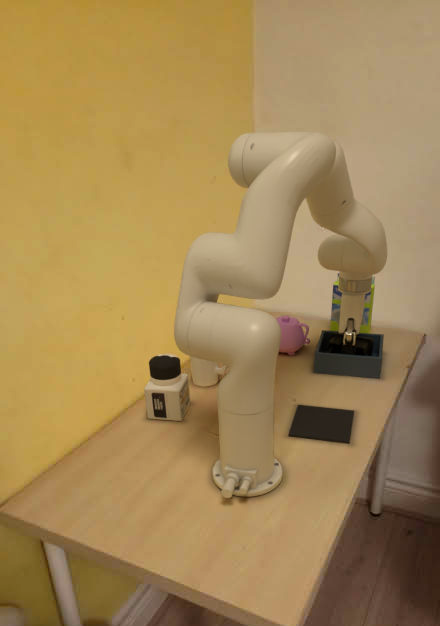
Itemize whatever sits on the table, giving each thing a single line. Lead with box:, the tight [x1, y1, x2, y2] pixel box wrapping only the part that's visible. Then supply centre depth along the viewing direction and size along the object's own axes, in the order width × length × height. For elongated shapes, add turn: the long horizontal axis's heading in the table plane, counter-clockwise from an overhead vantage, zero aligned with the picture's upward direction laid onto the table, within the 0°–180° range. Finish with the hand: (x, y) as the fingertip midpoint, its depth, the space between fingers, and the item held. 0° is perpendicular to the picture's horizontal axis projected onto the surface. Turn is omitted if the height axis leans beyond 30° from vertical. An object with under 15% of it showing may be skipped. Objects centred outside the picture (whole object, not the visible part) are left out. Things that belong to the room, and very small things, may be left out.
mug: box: [189, 356, 228, 388], centre depth 127 cm, size 10×7×12 cm, turn 61°
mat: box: [287, 404, 355, 445], centre depth 111 cm, size 12×12×1 cm
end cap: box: [327, 333, 373, 356], centre depth 134 cm, size 10×7×7 cm
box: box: [329, 272, 376, 333], centre depth 145 cm, size 10×4×17 cm, turn 64°
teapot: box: [275, 314, 311, 356], centre depth 142 cm, size 10×15×9 cm
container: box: [143, 353, 191, 422], centre depth 115 cm, size 8×8×13 cm
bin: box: [313, 329, 385, 380], centre depth 134 cm, size 15×16×5 cm
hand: (349, 351), depth 134 cm, fingers closed on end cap, 8 cm apart
